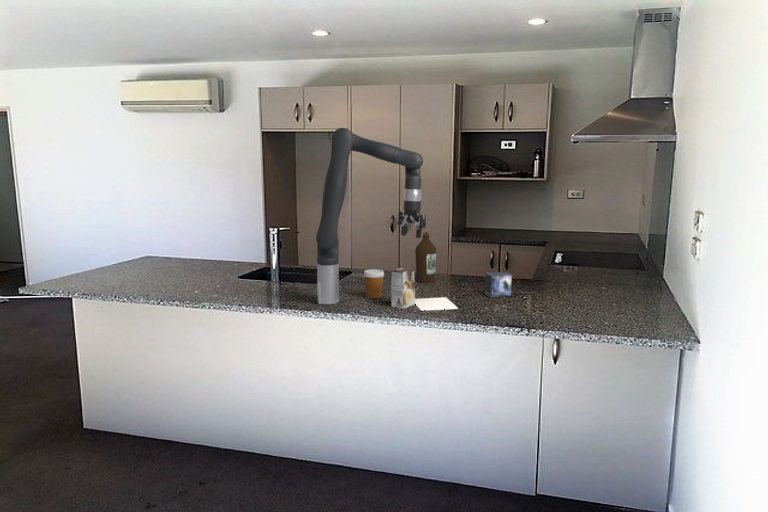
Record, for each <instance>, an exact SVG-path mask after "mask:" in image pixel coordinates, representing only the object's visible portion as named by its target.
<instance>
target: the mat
mask: <svg viewBox="0 0 768 512" xmlns="http://www.w3.org/2000/svg"><path fill="white" fill-rule="evenodd" d="M415 304H416V305H415V306H416V307H417V308H418V309H419V310H421V311H424V310H426V311H442V310H444V309H445V310H457V309H459V308H458V307H457V306H456V305H455V303H453V302H452V301H451V300H450V299H448V297H445V296H444V297H443V296H442V297H429V298H428V297H427V298H426V297H425V298H424V297H423V298H415Z"/></svg>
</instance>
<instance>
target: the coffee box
mask: <svg viewBox="0 0 768 512" xmlns="http://www.w3.org/2000/svg"><path fill="white" fill-rule="evenodd" d="M390 273H391V276H390V277H391V278H390V279H391V280H390V281H391V282H390V284H391V287H390V288H391V290H390V293H391V294H390V295H391V308H395V307H397V308H396V309H401V308H402V309H401V310H404V309H407V308H409V306H410V307H412V306H414V305H415V299H416V267H415V268H414V267H405V266H403V267H399V268H395V269H391V272H390ZM415 306H416V305H415Z"/></svg>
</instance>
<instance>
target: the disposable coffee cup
mask: <svg viewBox="0 0 768 512" xmlns="http://www.w3.org/2000/svg"><path fill="white" fill-rule="evenodd" d="M363 276H364V283H365V292H366V298H367V297H368V299H370V298H377V299H380V297H381V298H382V292H383V291H382V290H383V284H384V277H385V272H384V270H382V269H375V268H374V269H366V270H364V271H363Z"/></svg>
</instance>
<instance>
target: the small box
mask: <svg viewBox="0 0 768 512" xmlns="http://www.w3.org/2000/svg"><path fill="white" fill-rule="evenodd" d="M512 279H513V274H511V273H510V272H508V271H497V272H496V271H494V272H485V284H484V295H485V296H486V297H488V298H491V299H493V297H496V298H507V297H506V296H511V297H512V284H513V283H512V281H513V280H512Z"/></svg>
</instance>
